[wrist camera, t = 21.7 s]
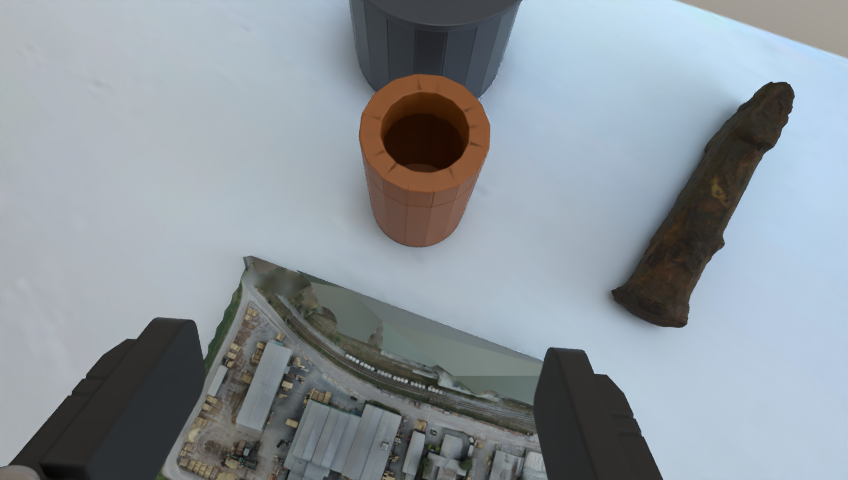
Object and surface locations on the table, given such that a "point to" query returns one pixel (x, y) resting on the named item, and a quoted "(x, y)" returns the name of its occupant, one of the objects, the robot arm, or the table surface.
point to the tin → (428, 50)
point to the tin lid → (441, 12)
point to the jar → (422, 156)
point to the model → (353, 393)
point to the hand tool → (704, 210)
